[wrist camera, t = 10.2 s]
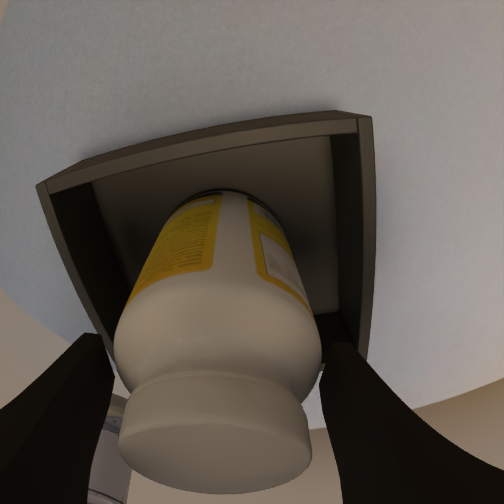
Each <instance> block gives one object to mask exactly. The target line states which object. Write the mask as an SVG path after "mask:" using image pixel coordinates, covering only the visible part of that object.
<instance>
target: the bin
mask: <svg viewBox="0 0 504 504" xmlns="http://www.w3.org/2000/svg"><path fill="white" fill-rule="evenodd" d="M36 190H37V193H38V196H39V199H40V202H41V205H42V208H43V211H44V214H45V217H46V220H47V223H48V225H49V228H50V231H51V233H52V236H53V239H54V241H55V244H56V246H57V249H58V251H59V254H60V256H61V258H62V261H63V263H64V265H65V268H66V270H67V272H68V275H69V277H70V279H71V281H72V283H73V286H74V288H75V290H76V292H77V294H78V296H79V298H80V300H81V302H82V304H83V306H84V308H85V310H86V312H87V314H88V316H89V318H90V320H91V322H92V324H93V326H94V328H95V329H96V331H97V333H98V334H101V335H102V339H103V342H104V345H105V347H106V349H107V351H108V353H109V354H110V356H111V358H112V359H113V361H114V363H115V359H114V337H115V332H116V329H117V326H118V323H119V320H120V317H121V315H122V313H123V310H124V308H125V306H126V304H127V301H128V299H129V297H130V295H131V293H132V290H133V288H134V286H135V284H136V282H137V280H138V277H139V275H140V273H141V271H142V269H143V267H144V264H145V262H146V260H147V258H148V256H149V254H150V252H151V250H152V248H153V246H154V244H155V242H156V240H157V238H158V236H159V234H160V232H161V230H162V228H163V226H164V224H165V223H166V221H167V219H168V218H169V217H170V215H171V214H172V213H173V212H174V211H175V210H176V209H177V208H178V207H179V206H180V205H181V204H183V203H184V202H186V201H187V200H189V199H191V198H193V197H195V196H197V195H200V194H203V193H208V192H213V191H231V192H237V193H241V194H244V195H247V196H249V197H252V198H254V199H256V200H257V201H259V202H261V203H262V204H263V205H265V206H266V207H267V208H268V209H269V210H270V211H271V212H272V213H273V214H274V215H275V217H276V218H277V219H278V221H279V223H280V224H281V226H282V228H283V230H284V232H285V235H286V238H287V241H288V244H289V246H290V249H291V252H292V255H293V258H294V261H295V264H296V267H297V270H298V272H299V275H300V278H301V281H302V284H303V287H304V290H305V293H306V296H307V299H308V302H309V305H310V308H311V311H312V314H313V317H314V320H315V323H316V326H317V329H318V333H319V337H320V342H321V349H322V360H321V367H320V371H323V370H324V367H325V364H326V361H327V358H328V354H329V351H330V348H331V345H332V343H346V342H350V343H351V344H352V345H353V346H354V348H355V349H356V350H357V351H358V352H359V353H360V354H361V356H362V357H363V358H364V359H365V360H366V361H367V354H368V346H369V338H370V328H371V318H372V307H373V294H374V278H375V257H376V173H375V152H374V137H373V124H372V117H371V116H367V115H361V114H355V113H349V112H343V111H337V110H331V111H319V112H309V113H299V114H290V115H282V116H274V117H267V118H260V119H253V120H247V121H241V122H235V123H229V124H223V125H218V126H213V127H208V128H203V129H198V130H193V131H188V132H184V133H179V134H175V135H171V136H167V137H162V138H158V139H154V140H150V141H147V142H143V143H139V144H135V145H132V146H128V147H125V148H121V149H118V150H114V151H111V152H108V153H104V154H101V155H98V156H95V157H92V158H89V159H86V160H83V161H80V162H78V163H76V164H74V165H72V166H70V167H68V168H66V169H64V170H62V171H60V172H58V173H57V174H55V175H53V176H51V177H49V178H47V179H46V180H44V181H42V182H40V183H38V184H37V185H36Z"/></svg>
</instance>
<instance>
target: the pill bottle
mask: <svg viewBox="0 0 504 504" xmlns="http://www.w3.org/2000/svg"><path fill="white" fill-rule="evenodd" d="M114 359H115V364H116V368H117V371H118V373H119V376H120V378H121V380H122V381H123V384H124V385H125V387H126V388H127V390H128V391H129V392H130V394H131V395H130V397H129V399H128V401H127V404H126V406H125V409H124V414H123V419H122V424H121V429H120V433H119V439H118V449H119V453H120V456H121V457H122V459H123V460H124V461H125V463H126V464H127V465H128V466H129V467H131V468H132V469H133V470H135V471H136V472H138V473H139V474H141V475H143V476H145V477H147V478H149V479H151V480H153V481H155V482H157V483H160V484H163V485H166V486H169V487H173V488H176V489H180V490H185V491H191V492H197V493H207V494H241V493H249V492H256V491H260V490H265V489H269V488H273V487H276V486H279V485H282V484H285V483H287V482H289V481H291V480H293V479H295V478H296V477H298V476H299V475H300V474H302V473H303V472H304V471H305V470H306V469H307V468H308V466H309V464H310V463H311V459H312V447H311V441H310V435H309V428H308V421H307V417H306V414H305V412H304V410H303V407H302V405H301V403H302V402H303V401H304V400H305V399H306V398H307V396H308V395H309V393H310V392H311V390H312V389H313V387H314V385H315V383H316V380H317V378H318V375H319V372H320V367H321V360H322V349H321V342H320V337H319V333H318V329H317V326H316V323H315V320H314V317H313V314H312V311H311V308H310V305H309V302H308V299H307V296H306V293H305V290H304V287H303V284H302V281H301V278H300V275H299V272H298V270H297V267H296V264H295V261H294V258H293V255H292V252H291V249H290V246H289V244H288V241H287V238H286V235H285V232H284V230H283V228H282V226H281V224H280V223H279V221H278V219H277V218H276V217H275V215H274V214H273V213H272V212H271V211H270V210H269V209H268V208H267V207H266V206H265V205H263V204H262V203H261V202H259V201H257V200H256V199H254V198H252V197H249V196H247V195H244V194H241V193H237V192H231V191H213V192H208V193H203V194H200V195H197V196H195V197H193V198H191V199H189V200H187V201H186V202H184V203H183V204H181V205H180V206H179V207H178V208H177V209H176V210H175V211H174V212H173V213H172V214H171V215H170V217H169V218H168V219H167V221H166V223H165V224H164V226H163V228H162V230H161V232H160V234H159V236H158V238H157V240H156V242H155V244H154V246H153V248H152V250H151V252H150V254H149V256H148V258H147V260H146V262H145V264H144V267H143V269H142V271H141V273H140V275H139V277H138V280H137V282H136V284H135V286H134V288H133V290H132V293H131V295H130V297H129V299H128V301H127V304H126V306H125V308H124V310H123V313H122V315H121V317H120V320H119V323H118V326H117V329H116V332H115V337H114Z"/></svg>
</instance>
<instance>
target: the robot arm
mask: <svg viewBox="0 0 504 504" xmlns="http://www.w3.org/2000/svg"><path fill="white" fill-rule="evenodd" d="M114 379H115V375H114V373H113V369H112V366H111V364H110V361H109V358H108V354H107V351H106V348H105V345H104V342H103V339H102V335H101V334H93V333H86V332H85V333H84V334H83V335H81V336H80V337H79V338H78V339H77V340H76V341H75V342H74V343H73V344H72V345H71V346H70V347H69V348H68V349H67V350H66V351H65V352H64V353H63V354H62V355H61V356H60V357H59V358H58V359H57V360H56V361H55V362H54V363H53V364H52V365H51V366H50V367H49V368H48V369H47V370H45V372H43V373H42V374H41V375H40V376H39V377H38V378H37V379H36V380H35V381H34V382H32V384H30V385H29V386H28V387H27V388H26V389H25V390H24V391H23V392H21V394H19V395H18V396H17V397H16V398H14V399H13V400H12V401H11V402H9V403H8V404H7V405H5V406H4V407H3V408H2V409H0V504H126V503H127V496H128V490H129V483H130V478H131V472H132V468H131V467H129V466H128V465H127V464H126V463H125V461H124V460H123V459H122V457H121V456H120V453H119V449H118V439H119V433H120V429H121V424H122V419H123V418H121V417H118V416H106V415H107V412H108V408H109V405H110V401H111V396H112V391H113V385H114ZM319 390H320V397H321V404H322V411H323V415H324V419H325V423H326V426H327V430H328V433H329V437H330V441H331V445H332V448H333V452H334V456H335V459H336V463H337V467H338V472H339V476H340V483H341V491H342V498H343V504H504V470H501V469H499V468H497V467H494V466H492V465H490V464H488V463H486V462H484V461H482V460H480V459H478V458H476V457H474V456H473V455H471V454H469V453H468V452H466V451H464V450H463V449H461V448H459V447H458V446H457V445H455V444H454V443H452V442H450V441H449V440H448V439H446V438H445V437H443V436H442V435H441V434H439V433H438V432H437V431H436V430H434V429H433V428H432V427H431V426H429V425H428V424H427V423H426V422H425V421H423V420H422V419H421V418H420V417H419V416H418V415H417V414H415V413H414V412H413V411H412V410H411V409H410V408H409V407H408V406H407V405H406V404H405V403H404V402H403V401H402V400H401V399H400V398H399V397H398V396H397V395H396V394H395V393H394V392H393V391H392V390H391V388H390V387H389V386H388V385H387V384H386V383H385V382H384V381H383V380H382V379H381V378H380V376H379V375H378V374H377V373H376V372H375V371H374V370H373V368H372V367H371V366H370V365H369V364H368V363H367V361H366V360H365V359H364V358H363V357H362V356H361V354H360V353H359V352H358V351H357V350H356V349H355V348H354V346H353V345H352V344H351V343H350V342H346V343H332V345H331V348H330V351H329V354H328V358H327V361H326V364H325V367H324V370H323V373H322V376H321V379H320V382H319Z"/></svg>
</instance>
